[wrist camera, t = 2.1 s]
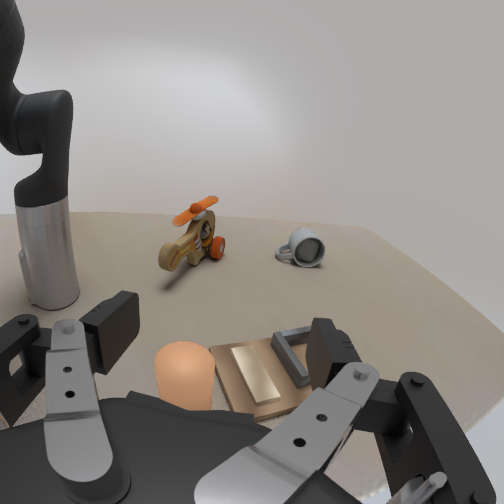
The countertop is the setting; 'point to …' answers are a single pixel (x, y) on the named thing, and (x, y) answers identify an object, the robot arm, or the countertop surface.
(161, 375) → the cylinder
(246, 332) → the countertop surface
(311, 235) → the ceramic mug
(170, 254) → the toy helicopter
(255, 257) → the countertop surface
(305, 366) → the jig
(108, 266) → the countertop surface
